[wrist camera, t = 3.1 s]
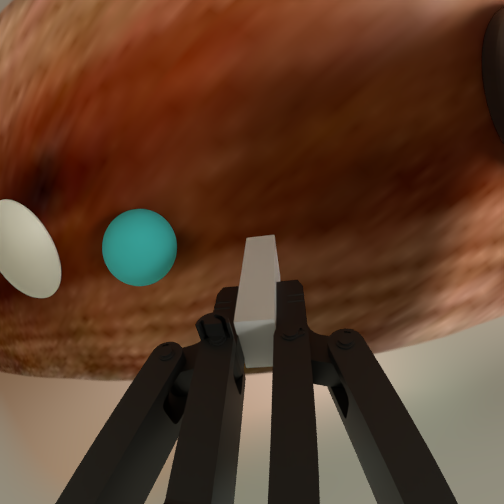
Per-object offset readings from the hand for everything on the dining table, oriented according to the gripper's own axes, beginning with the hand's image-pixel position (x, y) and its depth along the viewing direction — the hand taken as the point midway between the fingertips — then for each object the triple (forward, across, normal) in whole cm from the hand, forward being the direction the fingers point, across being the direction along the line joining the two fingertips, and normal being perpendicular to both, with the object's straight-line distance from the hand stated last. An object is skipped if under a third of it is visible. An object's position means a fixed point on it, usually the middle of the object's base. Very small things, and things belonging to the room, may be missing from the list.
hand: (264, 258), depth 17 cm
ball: (+3, +9, 0) cm, 10 cm away
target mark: (+6, +26, 0) cm, 27 cm away
